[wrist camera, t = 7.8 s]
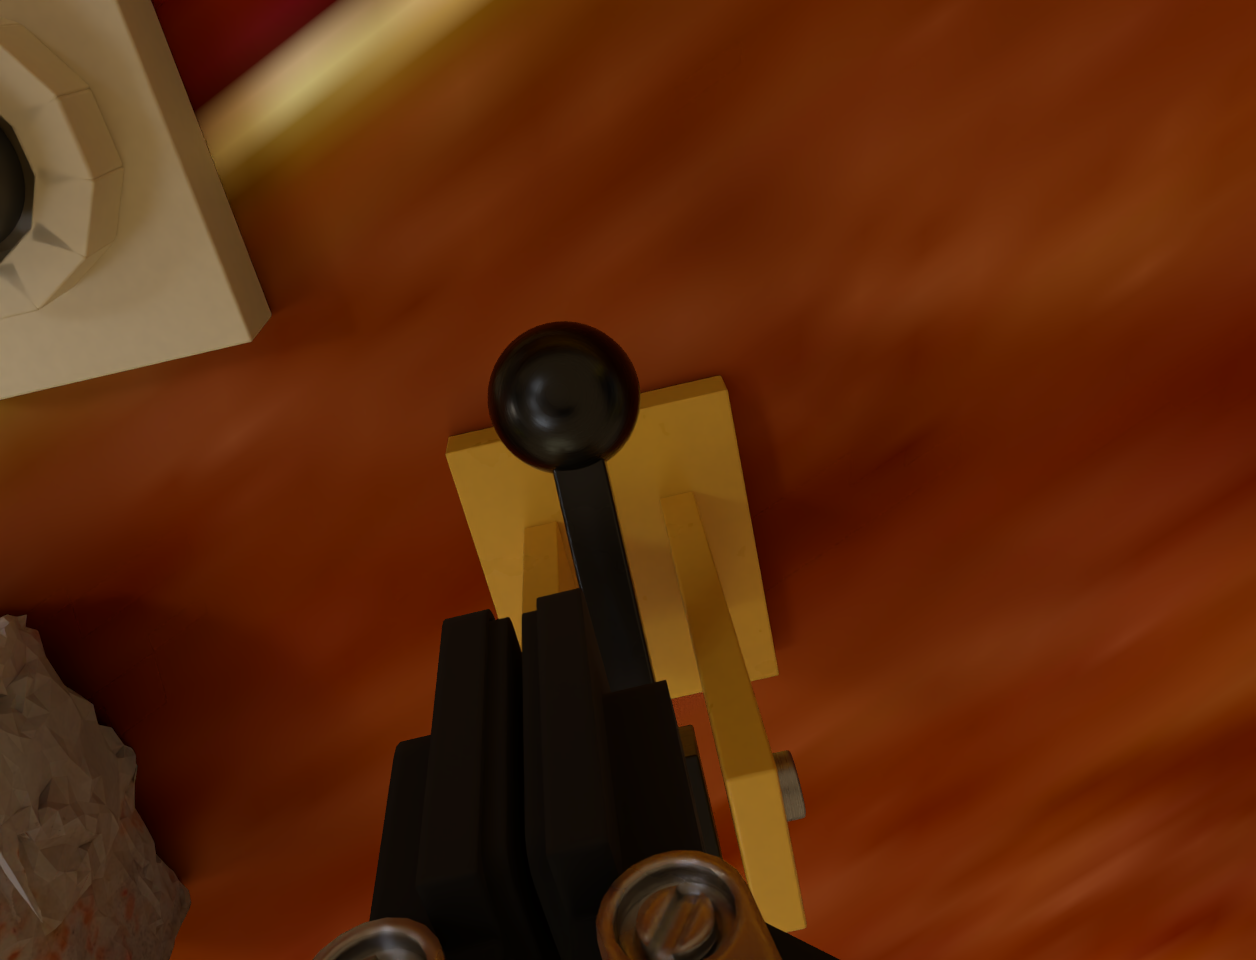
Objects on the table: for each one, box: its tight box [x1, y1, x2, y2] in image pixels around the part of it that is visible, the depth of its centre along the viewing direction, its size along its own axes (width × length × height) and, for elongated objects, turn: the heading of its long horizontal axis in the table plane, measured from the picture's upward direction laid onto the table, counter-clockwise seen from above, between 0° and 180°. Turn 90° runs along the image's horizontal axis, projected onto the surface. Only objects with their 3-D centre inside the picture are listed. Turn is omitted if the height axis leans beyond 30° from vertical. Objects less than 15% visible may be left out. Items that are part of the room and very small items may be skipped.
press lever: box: [488, 321, 723, 860], centre depth 22 cm, size 12×3×3 cm, turn 13°
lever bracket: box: [446, 375, 807, 932], centre depth 26 cm, size 10×8×13 cm
